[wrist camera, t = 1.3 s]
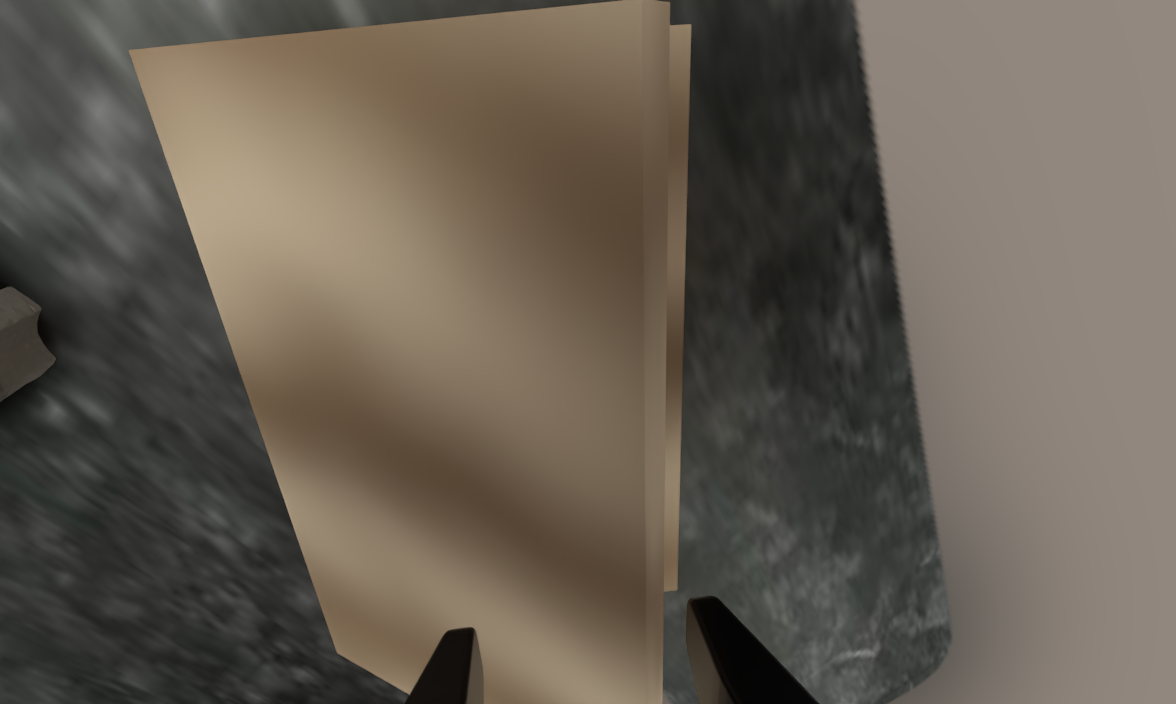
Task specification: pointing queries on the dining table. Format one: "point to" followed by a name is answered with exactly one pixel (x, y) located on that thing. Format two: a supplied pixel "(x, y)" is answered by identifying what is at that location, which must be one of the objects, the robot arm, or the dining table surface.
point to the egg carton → (20, 342)
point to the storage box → (675, 286)
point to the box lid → (451, 324)
